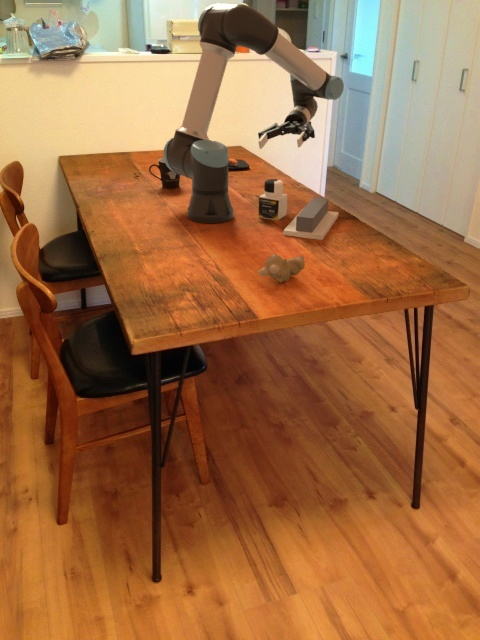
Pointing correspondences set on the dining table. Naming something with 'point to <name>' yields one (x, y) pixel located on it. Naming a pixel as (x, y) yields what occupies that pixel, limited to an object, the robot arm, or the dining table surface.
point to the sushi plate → (237, 164)
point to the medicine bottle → (273, 200)
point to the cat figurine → (282, 267)
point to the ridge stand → (312, 220)
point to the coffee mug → (166, 175)
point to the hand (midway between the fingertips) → (278, 144)
